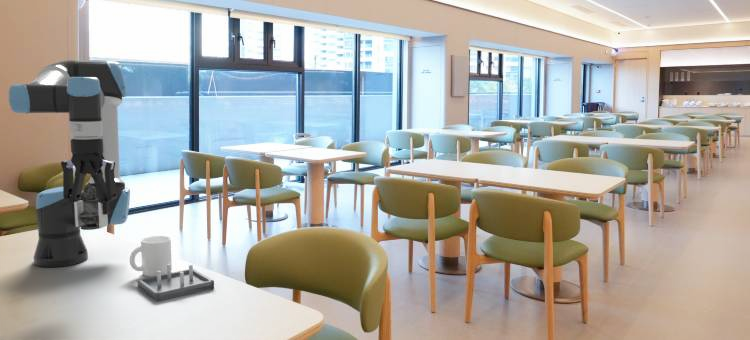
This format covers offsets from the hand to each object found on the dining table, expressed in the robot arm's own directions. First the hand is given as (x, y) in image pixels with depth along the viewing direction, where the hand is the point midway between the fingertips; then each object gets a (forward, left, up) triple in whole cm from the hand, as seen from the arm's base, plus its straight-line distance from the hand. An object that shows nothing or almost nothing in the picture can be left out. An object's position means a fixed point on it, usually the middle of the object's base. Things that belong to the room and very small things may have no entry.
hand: (91, 225), depth 154 cm
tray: (+7, +19, -19) cm, 28 cm away
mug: (-9, +18, -19) cm, 28 cm away
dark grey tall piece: (0, 0, -1) cm, 1 cm away
